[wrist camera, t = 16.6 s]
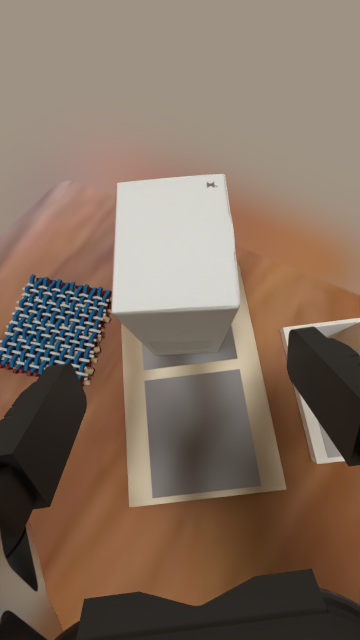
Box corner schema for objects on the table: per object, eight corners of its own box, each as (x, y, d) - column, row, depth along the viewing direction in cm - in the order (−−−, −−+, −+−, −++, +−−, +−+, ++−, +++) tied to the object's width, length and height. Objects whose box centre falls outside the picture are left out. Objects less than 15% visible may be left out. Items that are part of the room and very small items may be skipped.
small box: (152, 281, 26) (114, 178, 14) (211, 277, 26) (227, 169, 14) (152, 357, 24) (108, 314, 12) (218, 354, 24) (245, 306, 11)
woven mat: (-1, 369, 26) (-16, 366, 25) (37, 280, 29) (26, 272, 27) (90, 391, 25) (82, 390, 23) (120, 295, 28) (114, 288, 26)
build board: (132, 501, 22) (128, 508, 20) (122, 284, 28) (118, 278, 27) (281, 484, 21) (287, 490, 20) (236, 269, 28) (238, 263, 26)
